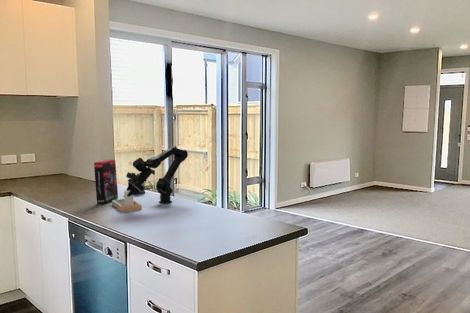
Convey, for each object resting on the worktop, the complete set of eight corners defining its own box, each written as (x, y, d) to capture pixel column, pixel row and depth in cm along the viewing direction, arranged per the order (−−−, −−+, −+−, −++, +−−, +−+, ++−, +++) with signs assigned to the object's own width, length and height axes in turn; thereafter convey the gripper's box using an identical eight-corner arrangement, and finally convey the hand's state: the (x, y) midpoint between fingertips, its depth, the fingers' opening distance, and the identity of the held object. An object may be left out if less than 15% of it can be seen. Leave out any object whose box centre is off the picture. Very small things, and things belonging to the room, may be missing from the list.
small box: (130, 194, 286) (129, 180, 285) (129, 193, 292) (128, 179, 291) (145, 193, 290) (144, 179, 289) (143, 191, 296) (143, 178, 295)
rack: (141, 209, 241) (141, 204, 241) (122, 212, 235) (121, 207, 235) (130, 202, 261) (130, 197, 261) (112, 204, 255) (112, 200, 255)
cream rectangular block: (131, 207, 247) (130, 190, 246) (133, 209, 242) (133, 191, 241) (124, 208, 245) (124, 190, 244) (127, 210, 240) (126, 192, 239)
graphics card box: (105, 204, 256) (103, 162, 253) (95, 204, 257) (93, 162, 254) (118, 198, 272) (116, 159, 269) (109, 198, 274) (107, 159, 271)
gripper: (130, 165, 251) (113, 184, 247) (137, 169, 234) (119, 189, 230) (143, 176, 255) (126, 195, 251) (151, 181, 239) (133, 201, 235)
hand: (126, 195), depth 242 cm, fingers open, 7 cm apart
